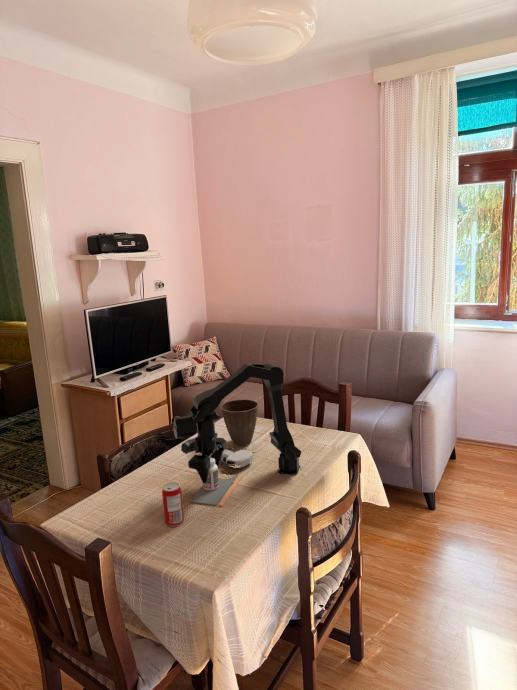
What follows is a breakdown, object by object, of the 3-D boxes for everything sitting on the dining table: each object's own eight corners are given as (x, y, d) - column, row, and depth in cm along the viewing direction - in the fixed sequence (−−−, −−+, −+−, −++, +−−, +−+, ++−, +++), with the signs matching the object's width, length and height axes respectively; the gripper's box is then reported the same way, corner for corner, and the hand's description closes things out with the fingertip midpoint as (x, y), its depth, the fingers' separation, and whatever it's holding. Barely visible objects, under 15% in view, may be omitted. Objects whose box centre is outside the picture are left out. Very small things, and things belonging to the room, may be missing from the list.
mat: (237, 476, 173) (237, 474, 173) (216, 506, 154) (216, 504, 154) (213, 473, 175) (213, 472, 175) (190, 502, 157) (190, 501, 157)
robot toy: (207, 467, 182) (239, 474, 173) (206, 456, 182) (237, 462, 173) (228, 455, 192) (259, 461, 183) (227, 444, 191) (258, 449, 182)
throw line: (243, 476, 172) (243, 475, 172) (222, 506, 153) (222, 505, 153) (239, 476, 172) (239, 474, 172) (219, 506, 154) (218, 504, 154)
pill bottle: (215, 481, 169) (213, 455, 166) (221, 488, 164) (219, 461, 162) (200, 485, 166) (198, 458, 164) (206, 492, 162) (204, 465, 159)
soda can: (173, 515, 150) (169, 479, 148) (187, 519, 147) (184, 483, 145) (161, 524, 146) (157, 487, 143) (175, 529, 143) (172, 491, 140)
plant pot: (216, 445, 199) (213, 408, 195) (237, 432, 211) (234, 397, 208) (247, 452, 191) (244, 413, 188) (266, 438, 203) (264, 402, 200)
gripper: (195, 420, 172) (199, 461, 175) (171, 442, 155) (175, 487, 158) (225, 422, 169) (228, 464, 172) (203, 444, 151) (207, 491, 155)
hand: (209, 476), depth 164 cm, fingers open, 9 cm apart
